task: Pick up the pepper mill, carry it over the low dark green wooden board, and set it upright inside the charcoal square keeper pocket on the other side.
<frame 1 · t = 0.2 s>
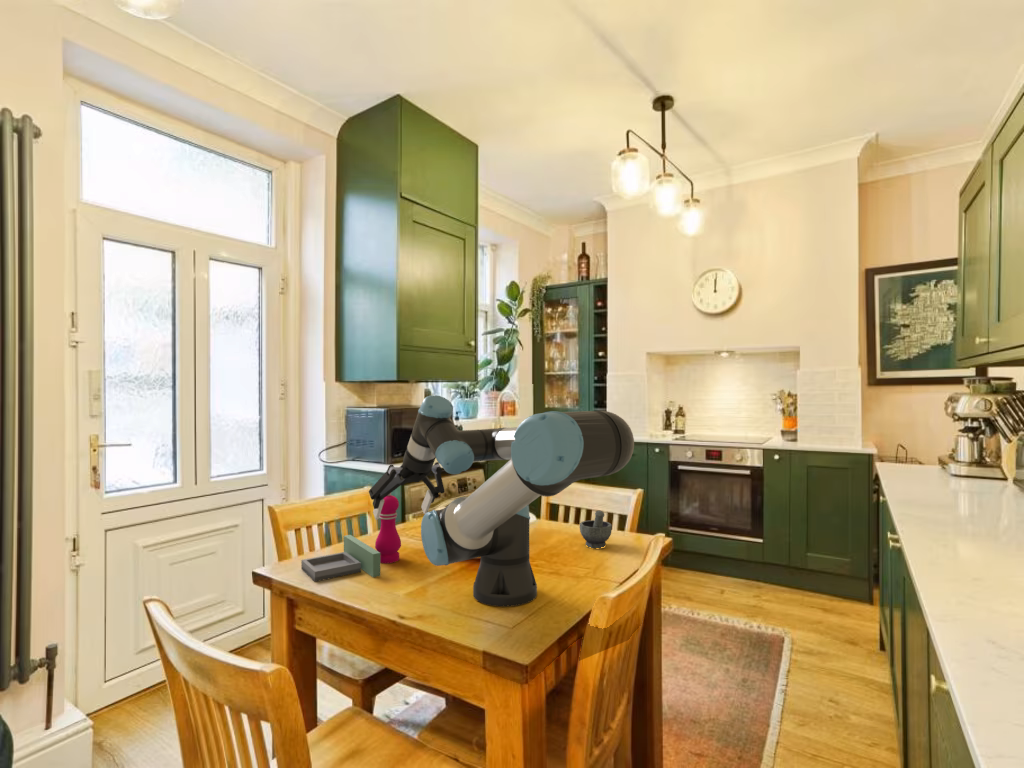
hand: (400, 513, 142), 16 cm above the table, tool tilted 35°, fingers open, 13 cm apart
keeper pocket: (330, 570, 144), on the table
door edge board: (361, 565, 148), on the table
mortar and pestle: (596, 547, 165), on the table
pepper mill: (388, 560, 153), on the table
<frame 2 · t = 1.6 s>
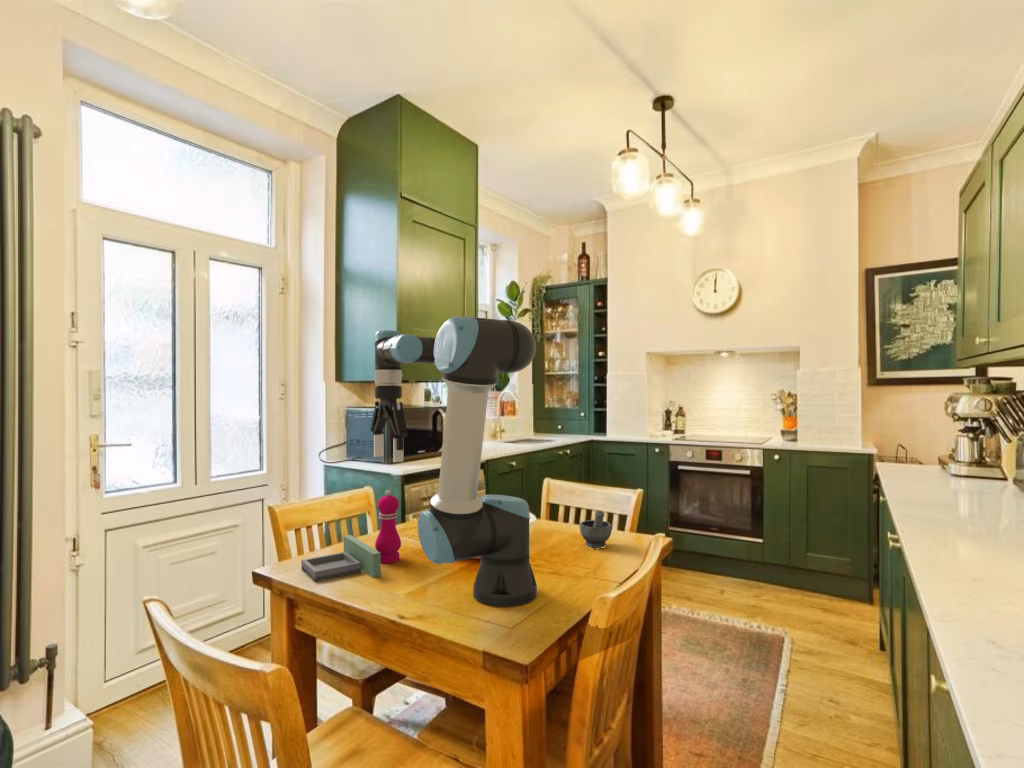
hand: (388, 459, 153), 29 cm above the table, tool pointing down, fingers open, 13 cm apart
nothing on the table moved.
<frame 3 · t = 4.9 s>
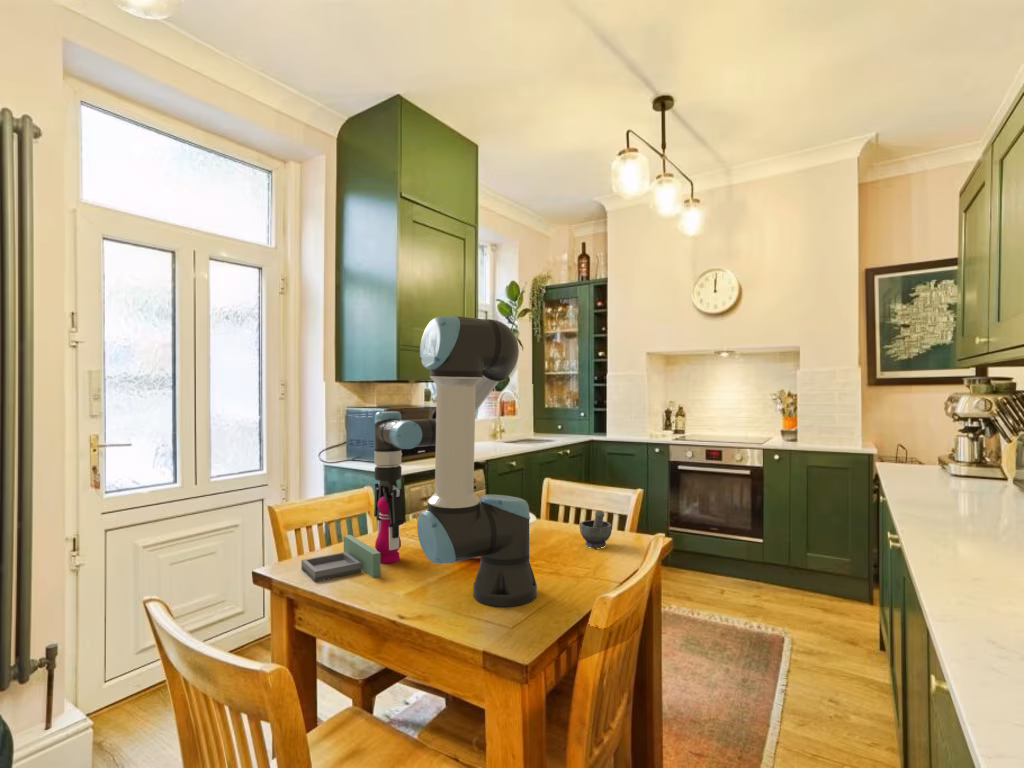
hand: (388, 545, 153), 4 cm above the table, tool pointing down, fingers closed on pepper mill, 7 cm apart
pepper mill: (388, 560, 153), on the table, touching gripper
everything else where it was.
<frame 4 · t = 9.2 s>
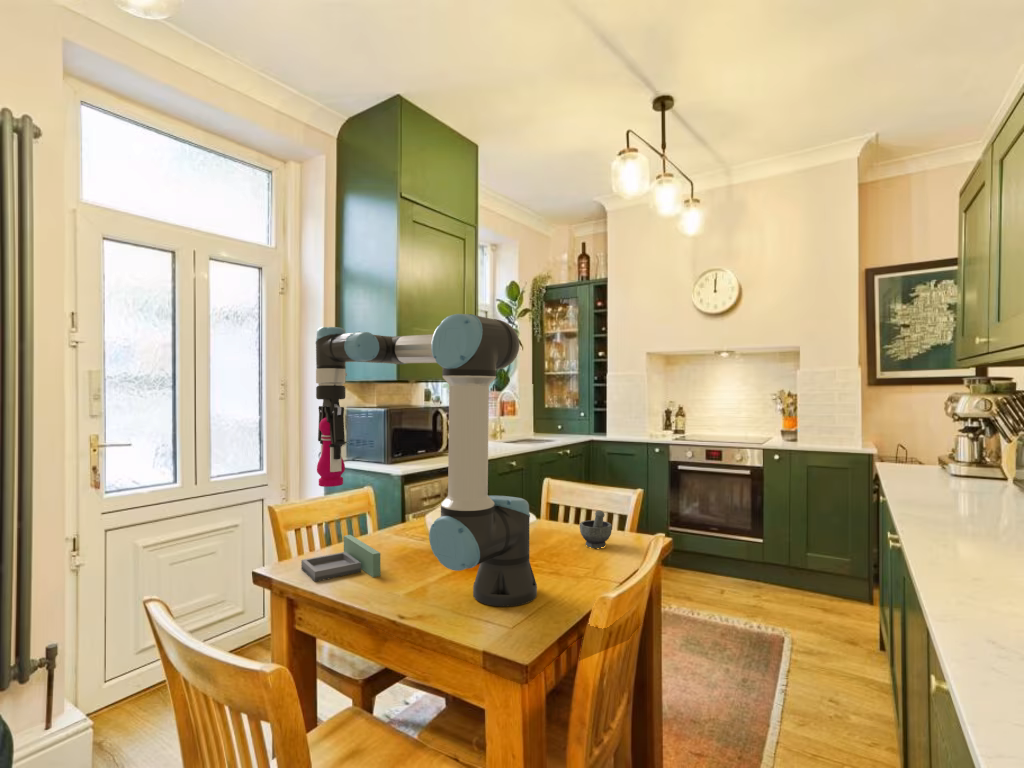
hand: (330, 469, 144), 27 cm above the table, tool pointing down, fingers closed on pepper mill, 7 cm apart
pepper mill: (330, 485, 144), point 23 cm above the table, touching gripper
everything else where it was.
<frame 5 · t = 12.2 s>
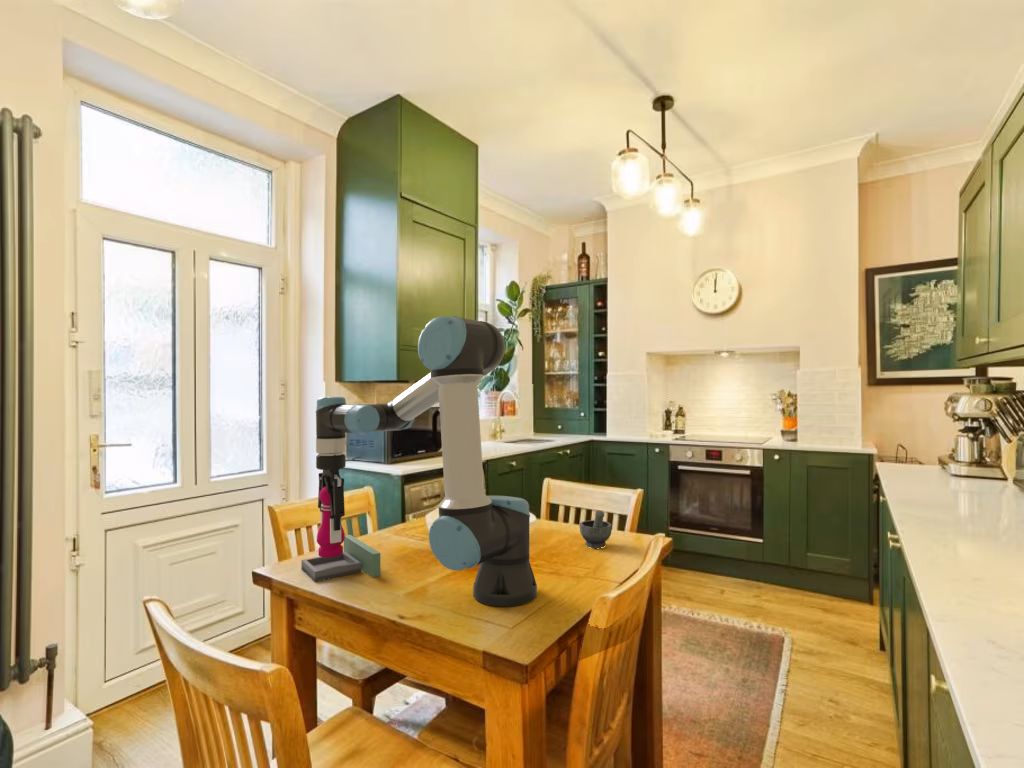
hand: (330, 538, 144), 9 cm above the table, tool pointing down, fingers closed on pepper mill, 7 cm apart
pepper mill: (330, 554, 144), point 4 cm above the table, touching gripper
everything else where it was.
when the fingers open (7 cm above the table, at t = 13.6 s): pepper mill drops 1 cm, resting on keeper pocket.
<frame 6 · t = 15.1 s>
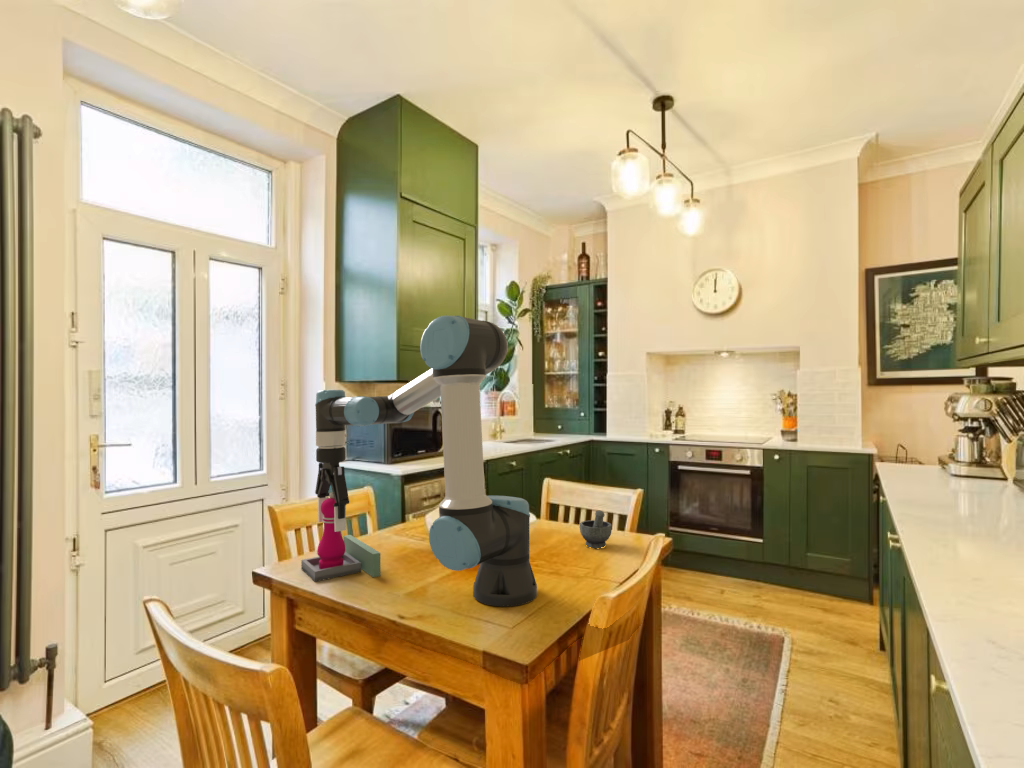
hand: (331, 525, 144), 12 cm above the table, tool pointing down, fingers open, 13 cm apart
pepper mill: (331, 567, 144), point 1 cm above the table, touching keeper pocket
everything else where it was.
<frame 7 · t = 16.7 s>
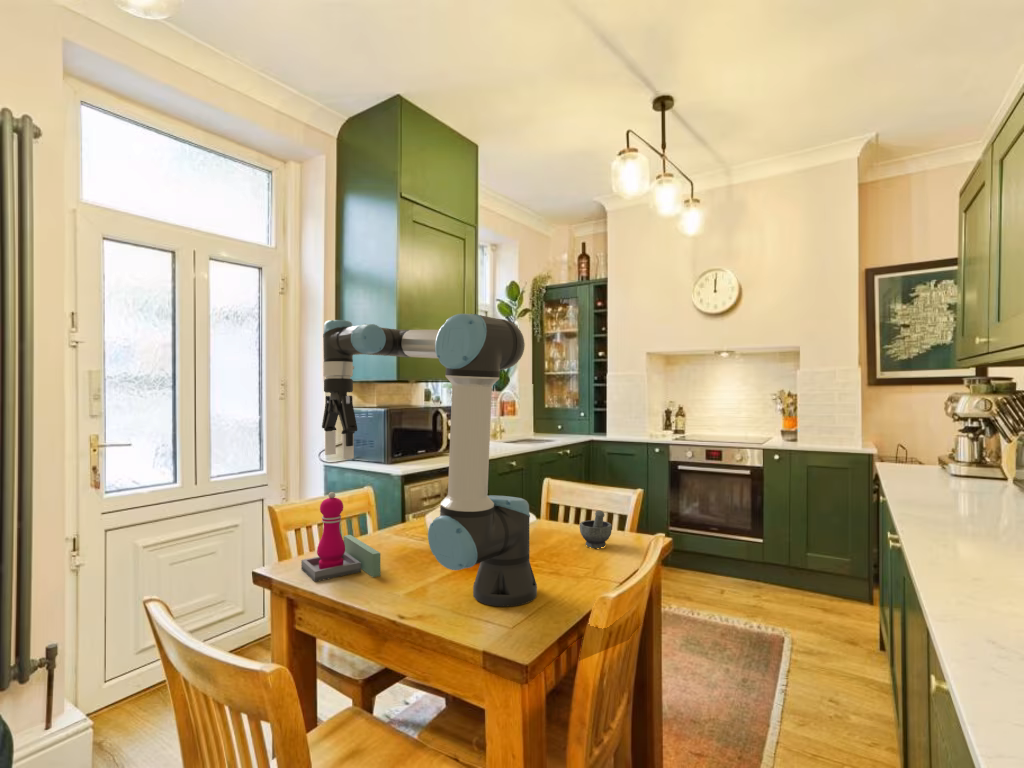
hand: (338, 456, 144), 31 cm above the table, tool pointing down, fingers open, 13 cm apart
nothing on the table moved.
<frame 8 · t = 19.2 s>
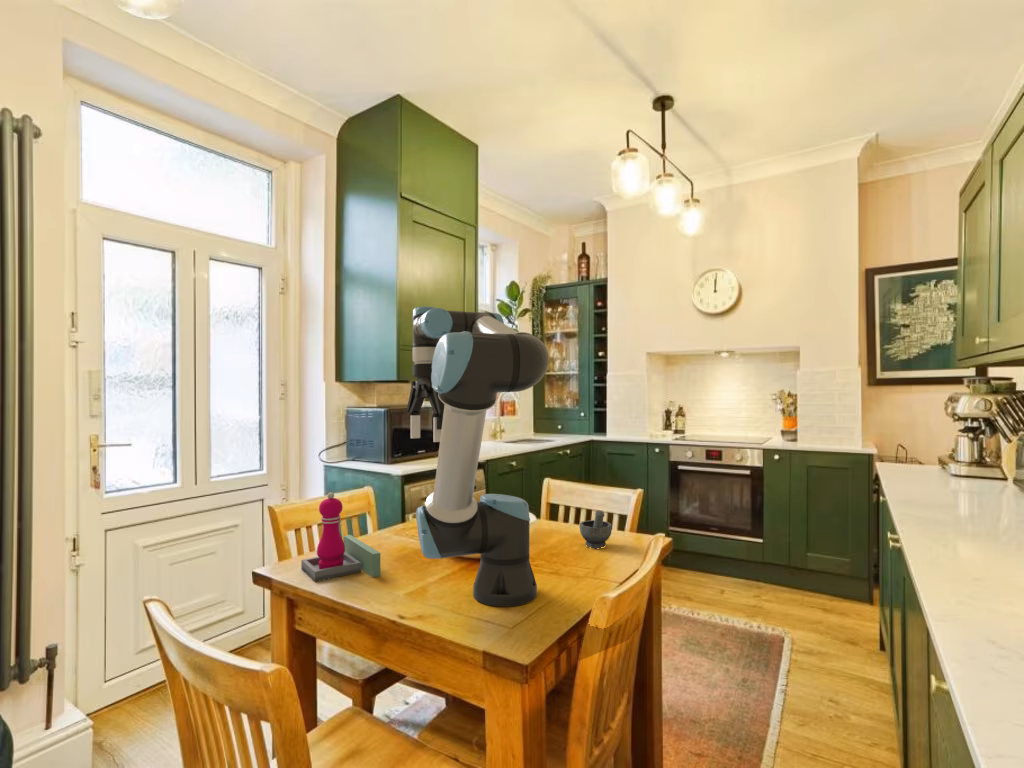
hand: (426, 440, 148), 35 cm above the table, tool pointing down, fingers open, 13 cm apart
nothing on the table moved.
at the end: pepper mill 0.1 cm off-centre on the keeper pocket, point 0.8 cm above the keeper pocket's base; pepper mill tilted 0°; the gripper is holding nothing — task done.
